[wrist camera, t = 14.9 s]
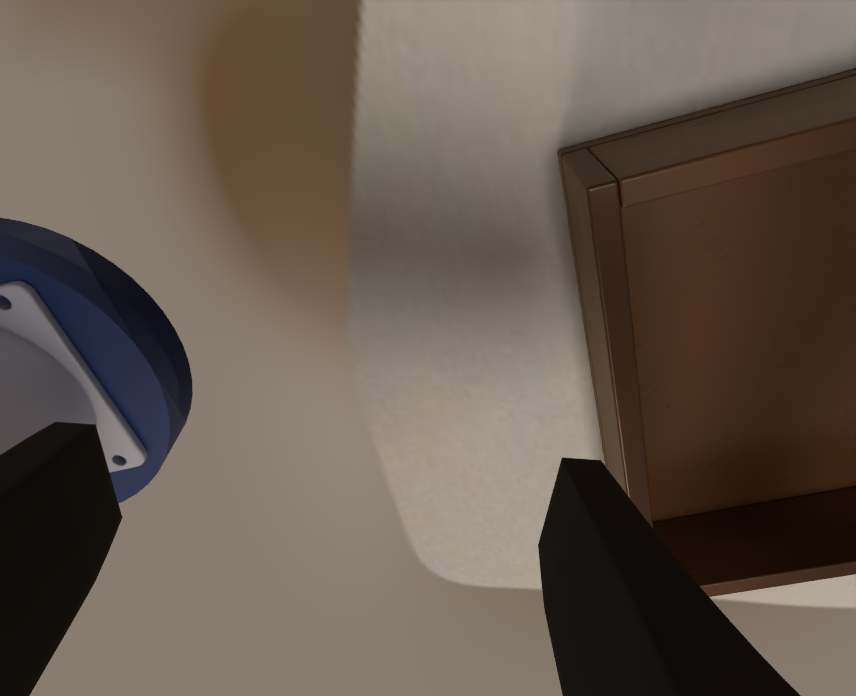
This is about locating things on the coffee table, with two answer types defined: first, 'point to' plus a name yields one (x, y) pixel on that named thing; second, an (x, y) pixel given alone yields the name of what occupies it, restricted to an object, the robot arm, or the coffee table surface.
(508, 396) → the coffee table surface
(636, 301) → the tray
